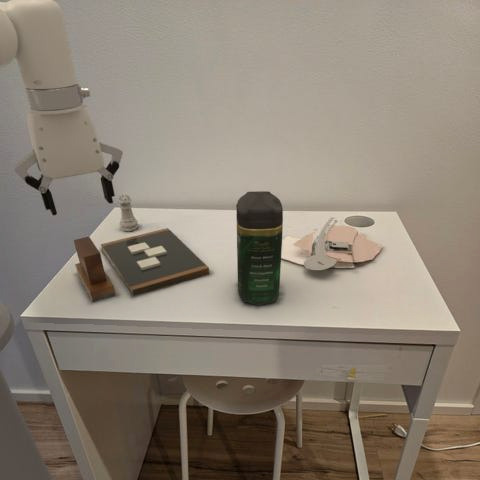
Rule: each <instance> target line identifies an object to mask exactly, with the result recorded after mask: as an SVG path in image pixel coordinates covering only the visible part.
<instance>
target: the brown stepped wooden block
mask: <svg viewBox="0 0 480 480" xmlns="http://www.w3.org/2000/svg"><path fill="white" fill-rule="evenodd" d="M73 244H74V247H75V250H76V255H77V258H78V263H75V264H74V265H75V269H76V273H77V276H78V277H79V279H80V282H81V283H82V285H83V287H84V288H85V291H86V292H87V295H88V297H89V298H90V300H91V302H92V303H96V302H99V301H102V300H105V299H110V298H113V297H116V296H117V295H116V290H115V286H114V284H113V282H112V280H111V279H110V277H109V276H108V273H107V272H106V271H105V267H104V263H103V259H102V256H101V252H100V251H99V249H98V247H97V246H96V245H95V243H94V241H93V240H92V238H91V237H90V236H84V237H81V238H77V239H73Z"/></svg>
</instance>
